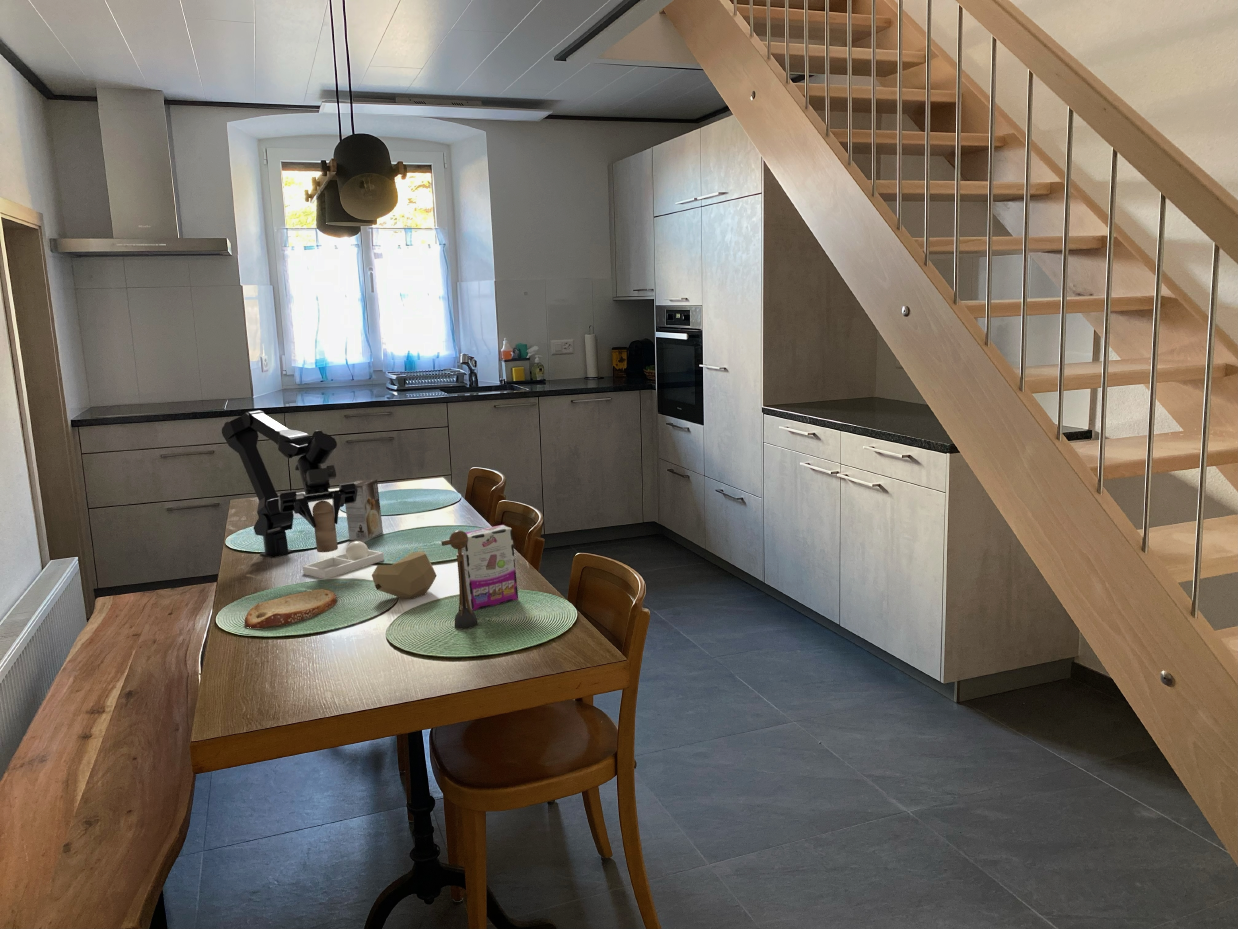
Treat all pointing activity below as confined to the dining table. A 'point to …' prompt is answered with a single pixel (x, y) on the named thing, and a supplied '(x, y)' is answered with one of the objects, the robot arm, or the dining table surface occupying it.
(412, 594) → the low-poly potato
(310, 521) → the robot arm
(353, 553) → the cream white ball
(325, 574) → the white divided tray
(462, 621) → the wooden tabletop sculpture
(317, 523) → the brown domed cylinder
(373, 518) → the coffee box
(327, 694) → the dining table surface
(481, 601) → the candy bar box
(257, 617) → the slice of bread
